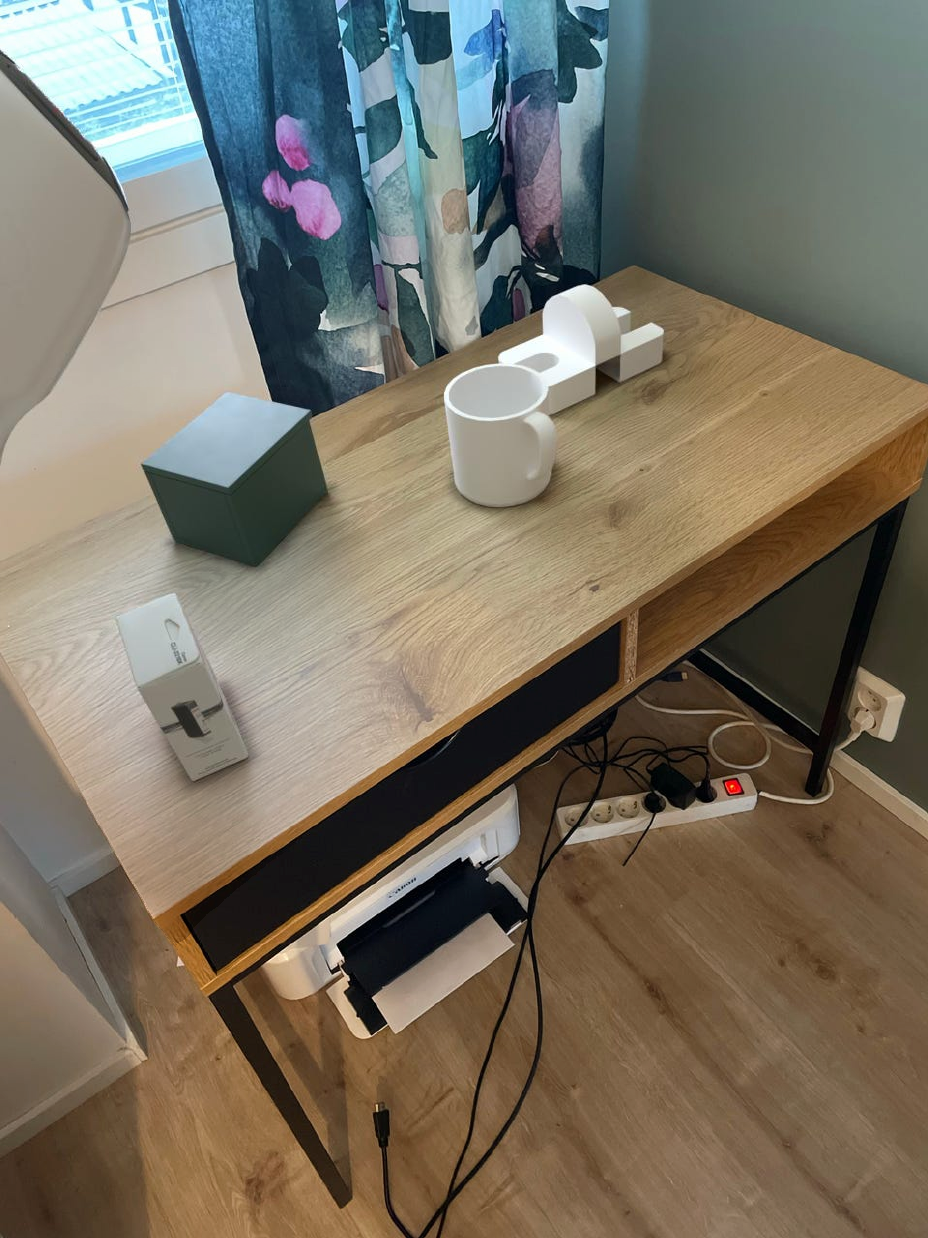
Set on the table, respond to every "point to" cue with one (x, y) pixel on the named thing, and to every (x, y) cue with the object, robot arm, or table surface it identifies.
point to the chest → (246, 503)
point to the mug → (500, 434)
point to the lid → (227, 442)
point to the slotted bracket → (585, 346)
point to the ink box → (180, 686)
